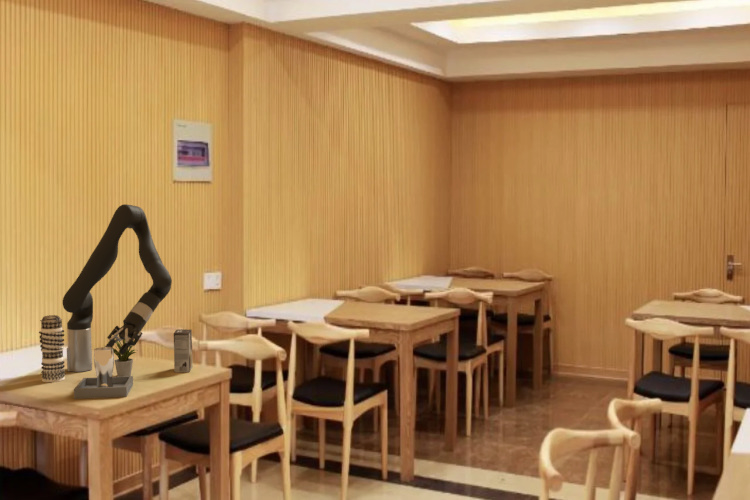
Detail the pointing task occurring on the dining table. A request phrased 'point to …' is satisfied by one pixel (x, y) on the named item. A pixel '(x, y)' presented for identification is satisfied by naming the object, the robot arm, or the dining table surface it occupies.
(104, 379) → the beer glass
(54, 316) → the decorative candle
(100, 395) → the serving tray
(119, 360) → the house plant
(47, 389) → the dining table surface
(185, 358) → the coffee box
